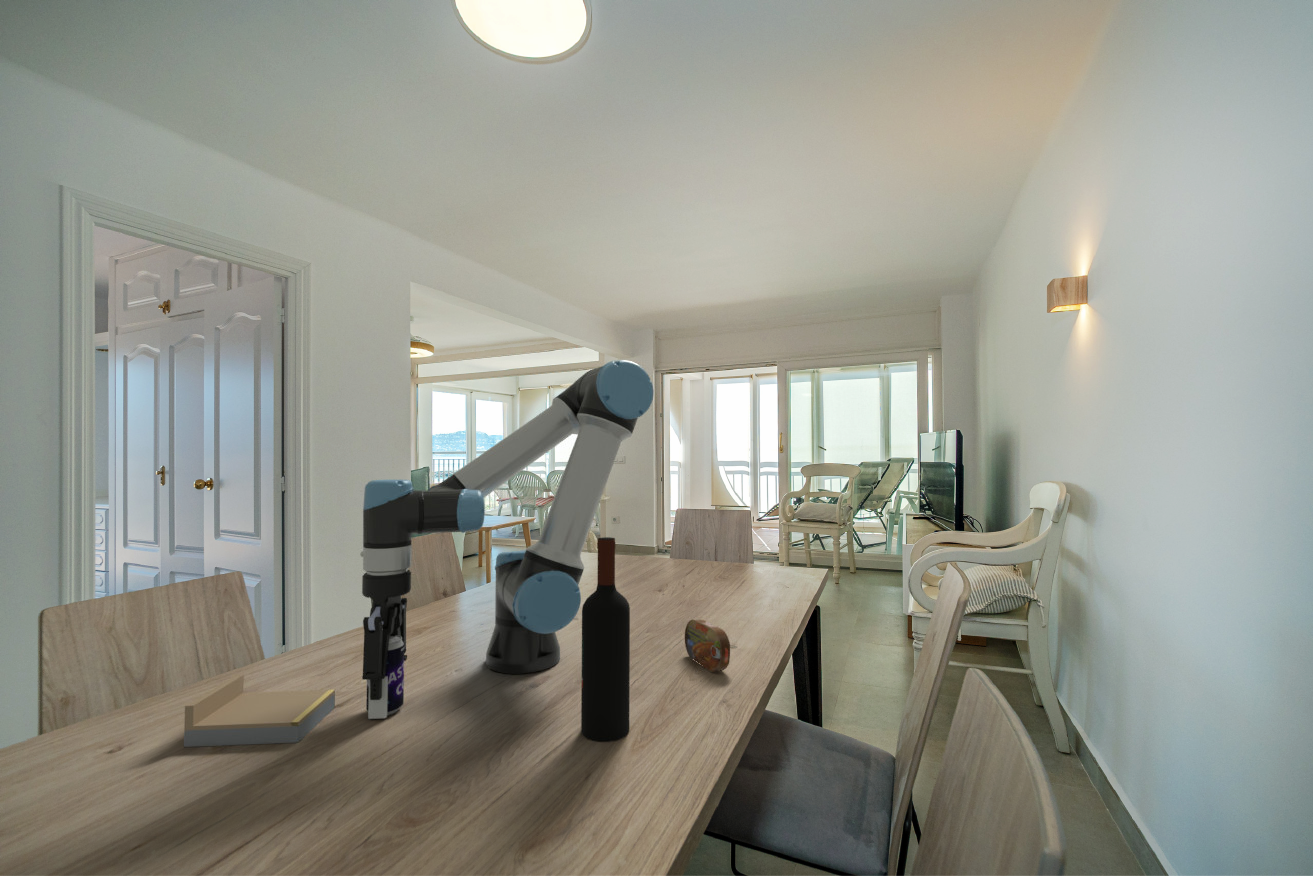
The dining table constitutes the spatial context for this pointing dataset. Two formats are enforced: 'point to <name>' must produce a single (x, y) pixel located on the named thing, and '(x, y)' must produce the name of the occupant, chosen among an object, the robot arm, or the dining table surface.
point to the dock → (253, 715)
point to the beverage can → (394, 675)
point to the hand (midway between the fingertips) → (385, 708)
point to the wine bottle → (605, 654)
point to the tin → (707, 645)
